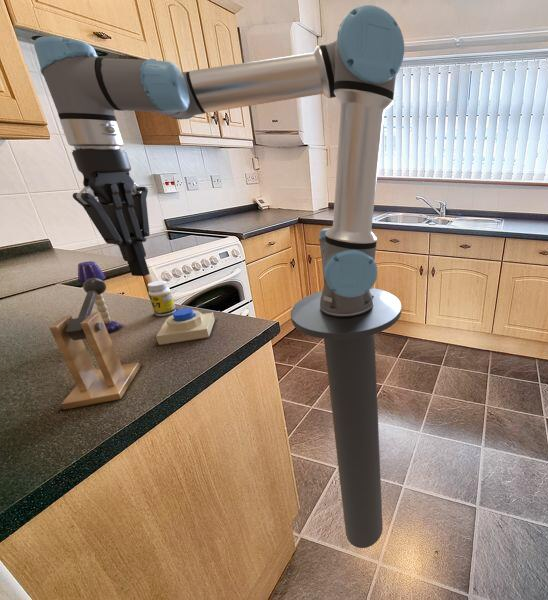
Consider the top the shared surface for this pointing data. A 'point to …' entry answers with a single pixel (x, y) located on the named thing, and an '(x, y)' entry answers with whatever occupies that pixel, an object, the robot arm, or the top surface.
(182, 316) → the switch button
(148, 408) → the top surface
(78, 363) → the lever bracket
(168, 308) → the supplement bottle
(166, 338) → the button box
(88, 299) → the switch lever
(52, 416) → the top surface
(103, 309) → the toy lamp
